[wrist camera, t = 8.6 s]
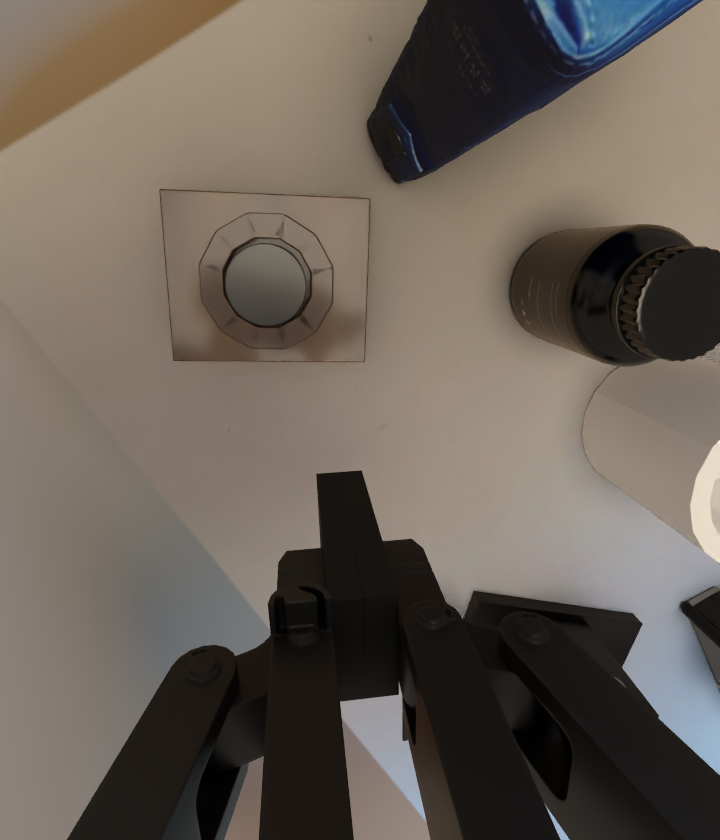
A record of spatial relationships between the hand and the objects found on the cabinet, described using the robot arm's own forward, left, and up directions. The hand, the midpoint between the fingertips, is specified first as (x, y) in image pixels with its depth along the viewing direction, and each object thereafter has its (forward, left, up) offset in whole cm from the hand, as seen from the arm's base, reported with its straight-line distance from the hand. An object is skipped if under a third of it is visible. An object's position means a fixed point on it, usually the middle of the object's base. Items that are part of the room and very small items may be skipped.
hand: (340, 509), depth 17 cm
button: (-3, +6, -13) cm, 15 cm away
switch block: (-3, +6, -17) cm, 18 cm away
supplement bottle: (+15, +6, -17) cm, 24 cm away
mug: (+24, -4, -17) cm, 30 cm away
